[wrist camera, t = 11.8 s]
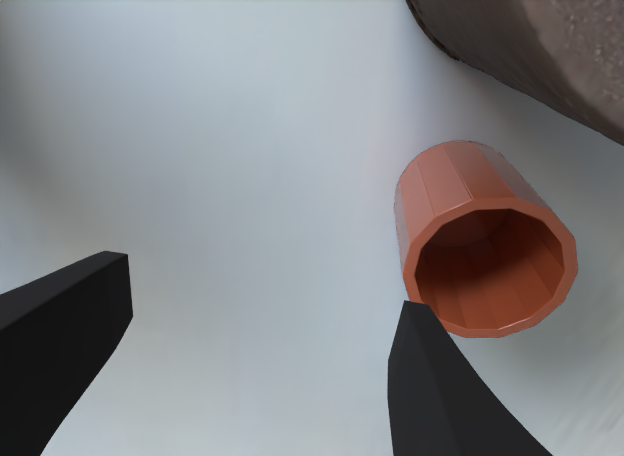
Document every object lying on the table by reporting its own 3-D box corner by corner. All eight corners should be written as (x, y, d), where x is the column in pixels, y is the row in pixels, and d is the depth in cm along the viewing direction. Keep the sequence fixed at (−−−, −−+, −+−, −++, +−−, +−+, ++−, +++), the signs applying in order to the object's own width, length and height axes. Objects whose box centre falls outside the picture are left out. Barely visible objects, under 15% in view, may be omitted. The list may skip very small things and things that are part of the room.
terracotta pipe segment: (535, 218, 20) (602, 302, 14) (424, 266, 22) (443, 358, 16) (489, 116, 18) (544, 165, 13) (372, 177, 20) (373, 244, 14)
